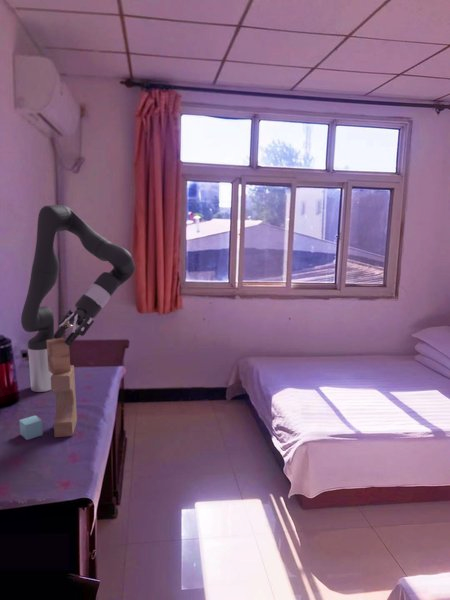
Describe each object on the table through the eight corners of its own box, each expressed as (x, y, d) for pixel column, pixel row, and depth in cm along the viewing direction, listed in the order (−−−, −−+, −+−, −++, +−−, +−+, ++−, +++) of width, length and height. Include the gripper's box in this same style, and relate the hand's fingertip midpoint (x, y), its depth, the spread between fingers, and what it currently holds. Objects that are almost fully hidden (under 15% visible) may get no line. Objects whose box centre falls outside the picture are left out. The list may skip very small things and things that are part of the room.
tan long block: (48, 370, 140) (46, 340, 138) (63, 367, 143) (62, 337, 142) (54, 374, 136) (53, 343, 135) (70, 371, 140) (68, 340, 138)
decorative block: (72, 436, 139) (69, 376, 136) (53, 438, 138) (49, 377, 135) (77, 421, 150) (74, 364, 146) (60, 422, 149) (56, 365, 145)
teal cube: (20, 434, 140) (19, 420, 139) (36, 429, 144) (35, 415, 143) (26, 440, 137) (25, 425, 136) (42, 435, 140) (41, 420, 139)
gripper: (75, 291, 147) (42, 330, 141) (95, 296, 137) (61, 339, 131) (90, 305, 152) (59, 343, 146) (111, 311, 142) (79, 352, 136)
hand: (60, 341), depth 139 cm, fingers open, 8 cm apart
